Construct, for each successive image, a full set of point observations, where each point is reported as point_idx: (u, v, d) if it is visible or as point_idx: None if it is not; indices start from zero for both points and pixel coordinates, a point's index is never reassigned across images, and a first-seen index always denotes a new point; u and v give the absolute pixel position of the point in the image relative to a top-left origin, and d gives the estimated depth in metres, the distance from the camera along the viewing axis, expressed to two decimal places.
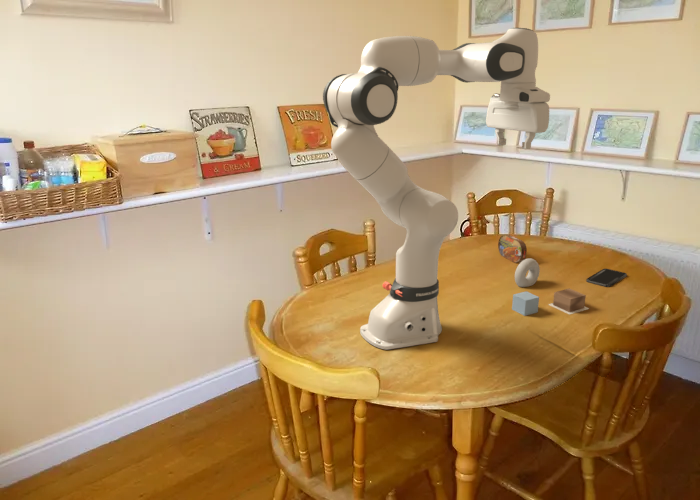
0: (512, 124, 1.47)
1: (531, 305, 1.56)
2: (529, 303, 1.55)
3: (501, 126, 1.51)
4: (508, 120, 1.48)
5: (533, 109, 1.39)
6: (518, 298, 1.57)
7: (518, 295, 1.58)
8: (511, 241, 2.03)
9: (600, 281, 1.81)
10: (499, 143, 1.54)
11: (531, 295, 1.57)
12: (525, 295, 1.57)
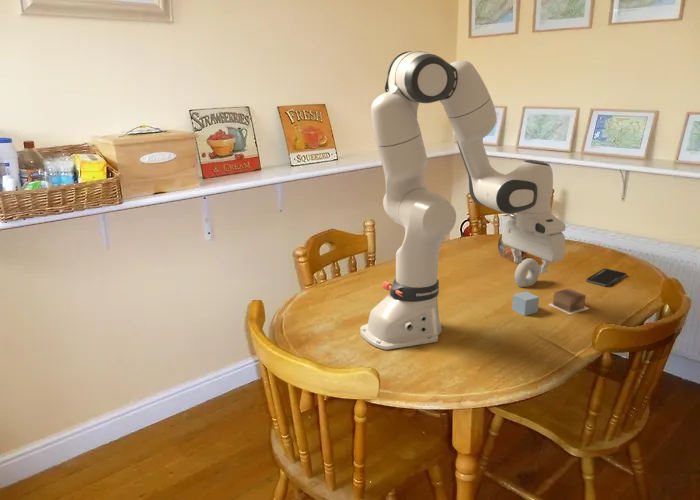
0: (528, 248, 1.51)
1: (531, 305, 1.56)
2: (529, 303, 1.55)
3: (517, 247, 1.55)
4: (524, 243, 1.52)
5: (549, 241, 1.43)
6: (518, 298, 1.57)
7: (518, 295, 1.58)
8: None
9: (600, 281, 1.81)
10: (515, 261, 1.58)
11: (531, 295, 1.57)
12: (525, 295, 1.57)
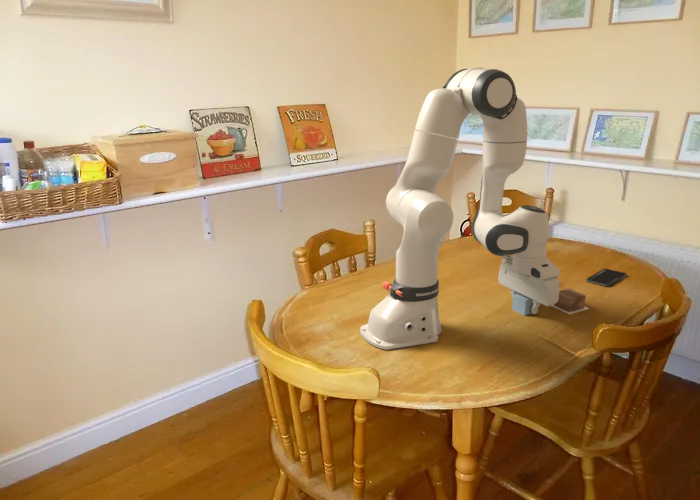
0: (523, 290, 1.55)
1: (531, 305, 1.56)
2: (529, 303, 1.55)
3: (513, 288, 1.59)
4: (520, 285, 1.56)
5: (544, 286, 1.47)
6: (518, 298, 1.57)
7: (518, 294, 1.58)
8: None
9: (600, 281, 1.81)
10: None
11: None
12: None
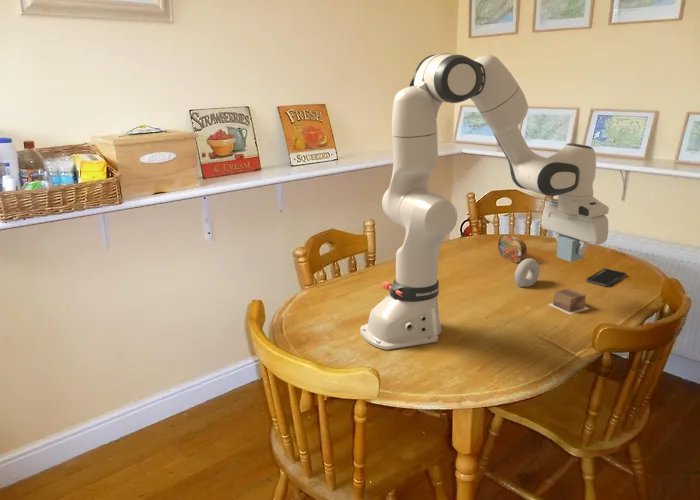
0: (569, 231, 1.52)
1: (577, 246, 1.52)
2: (576, 244, 1.52)
3: (558, 231, 1.56)
4: (565, 227, 1.53)
5: (593, 223, 1.44)
6: (564, 240, 1.53)
7: (564, 237, 1.55)
8: (511, 241, 2.03)
9: (600, 281, 1.81)
10: None
11: None
12: (571, 237, 1.54)
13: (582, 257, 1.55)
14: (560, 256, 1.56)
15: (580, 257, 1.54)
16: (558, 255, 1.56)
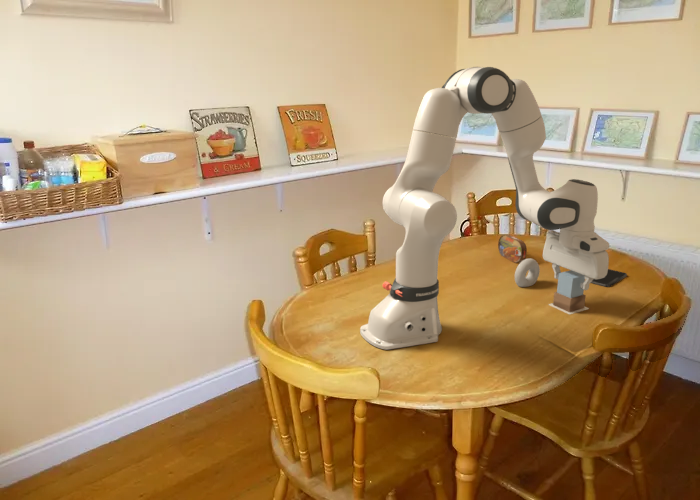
0: (570, 265, 1.55)
1: (577, 283, 1.56)
2: (576, 281, 1.56)
3: (559, 264, 1.59)
4: (566, 260, 1.56)
5: (594, 259, 1.47)
6: (564, 276, 1.57)
7: (564, 273, 1.58)
8: (511, 241, 2.03)
9: (600, 281, 1.81)
10: (556, 277, 1.62)
11: (577, 273, 1.58)
12: (571, 274, 1.58)
13: (582, 294, 1.58)
14: (560, 292, 1.59)
15: (580, 294, 1.58)
16: (558, 291, 1.60)
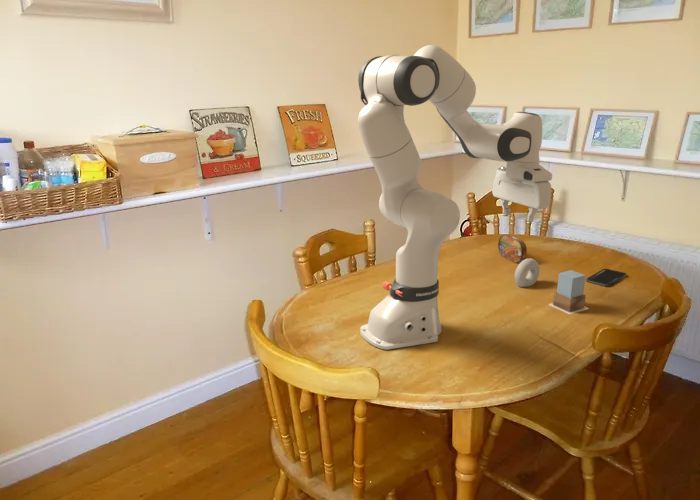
0: (516, 197, 1.58)
1: (577, 283, 1.56)
2: (576, 281, 1.56)
3: (506, 198, 1.62)
4: (513, 193, 1.59)
5: (536, 188, 1.50)
6: (564, 276, 1.57)
7: (564, 273, 1.58)
8: (511, 241, 2.03)
9: (600, 281, 1.81)
10: (504, 213, 1.65)
11: (577, 273, 1.58)
12: (571, 274, 1.58)
13: (582, 294, 1.58)
14: (560, 292, 1.59)
15: (580, 294, 1.58)
16: (558, 291, 1.60)
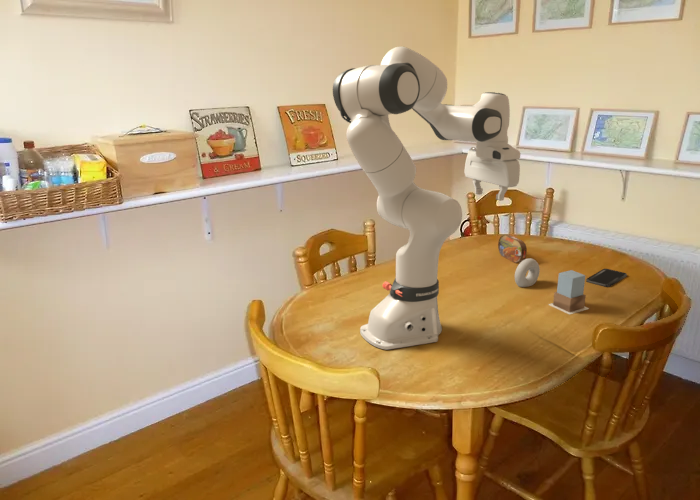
0: (486, 177, 1.61)
1: (577, 283, 1.56)
2: (576, 281, 1.56)
3: (477, 178, 1.65)
4: (483, 173, 1.62)
5: (505, 166, 1.53)
6: (564, 276, 1.57)
7: (564, 273, 1.58)
8: (511, 241, 2.03)
9: (600, 281, 1.81)
10: (476, 192, 1.68)
11: (577, 273, 1.58)
12: (571, 274, 1.58)
13: (582, 294, 1.58)
14: (560, 292, 1.59)
15: (580, 294, 1.58)
16: (558, 291, 1.60)
